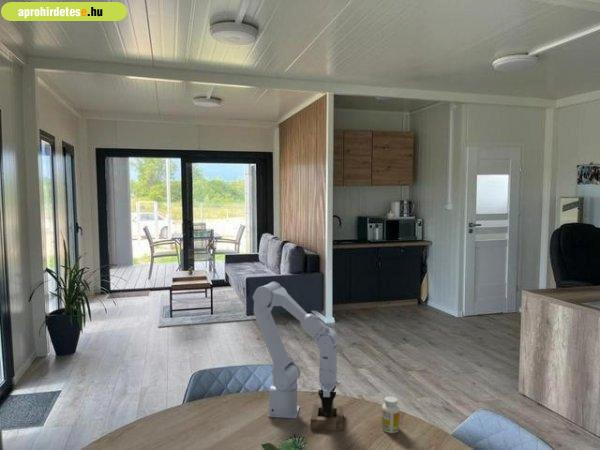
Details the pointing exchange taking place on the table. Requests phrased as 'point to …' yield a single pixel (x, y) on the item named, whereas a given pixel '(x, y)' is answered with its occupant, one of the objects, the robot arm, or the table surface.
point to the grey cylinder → (331, 409)
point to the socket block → (327, 419)
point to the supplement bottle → (390, 415)
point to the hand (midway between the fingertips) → (327, 408)
